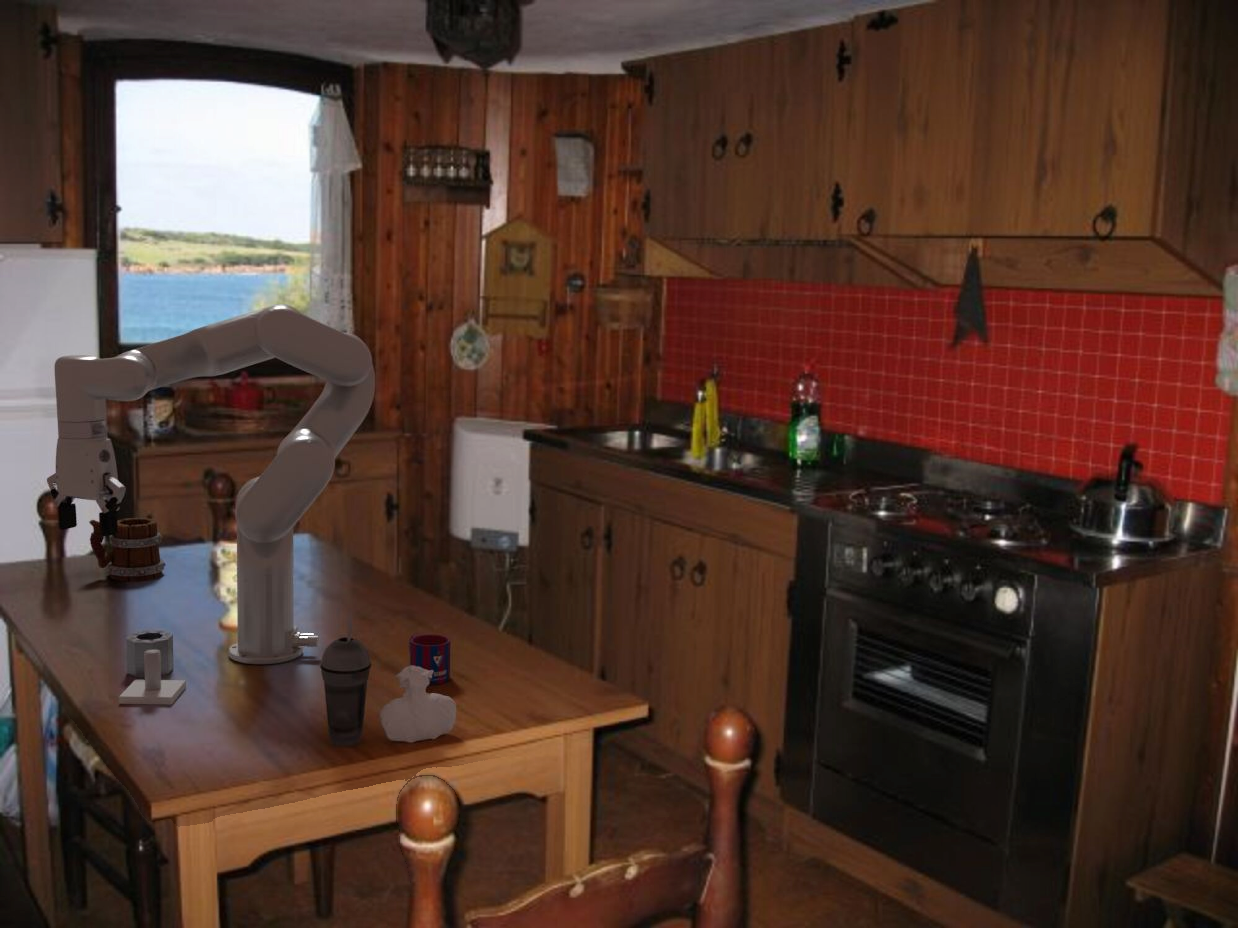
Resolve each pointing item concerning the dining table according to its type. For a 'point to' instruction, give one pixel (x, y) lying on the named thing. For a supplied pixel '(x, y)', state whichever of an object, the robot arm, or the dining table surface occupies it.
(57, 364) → the robot arm
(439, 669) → the cup
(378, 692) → the dining table surface
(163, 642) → the ring
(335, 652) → the beverage cup
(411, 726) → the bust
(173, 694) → the shaft block
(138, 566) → the mug
